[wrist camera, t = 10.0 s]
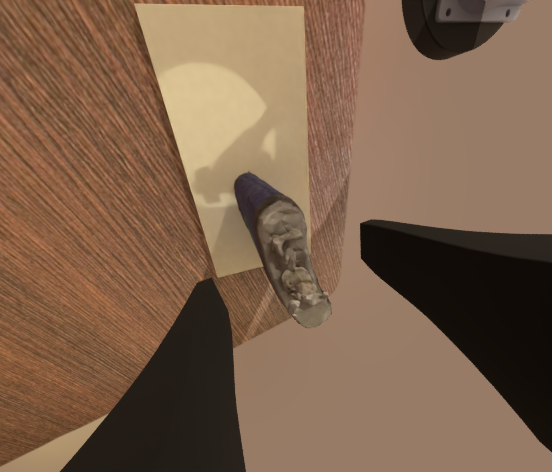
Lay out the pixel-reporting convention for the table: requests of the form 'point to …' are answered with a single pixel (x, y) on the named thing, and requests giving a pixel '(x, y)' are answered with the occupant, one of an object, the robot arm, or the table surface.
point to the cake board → (233, 109)
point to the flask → (282, 248)
